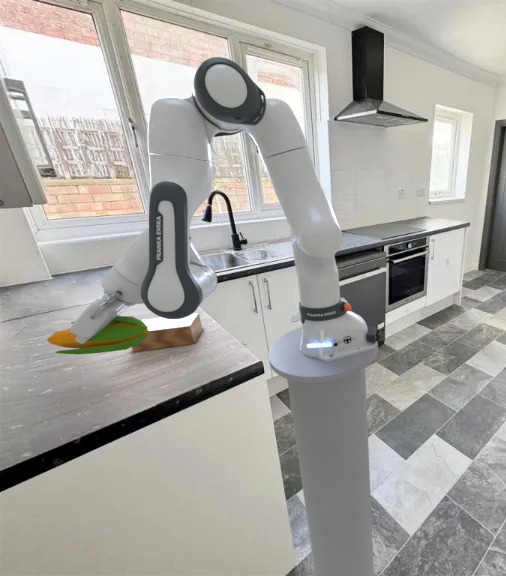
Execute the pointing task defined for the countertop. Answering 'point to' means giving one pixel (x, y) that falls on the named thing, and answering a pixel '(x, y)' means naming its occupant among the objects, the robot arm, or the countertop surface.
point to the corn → (104, 337)
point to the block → (170, 332)
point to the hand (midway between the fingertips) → (91, 332)
